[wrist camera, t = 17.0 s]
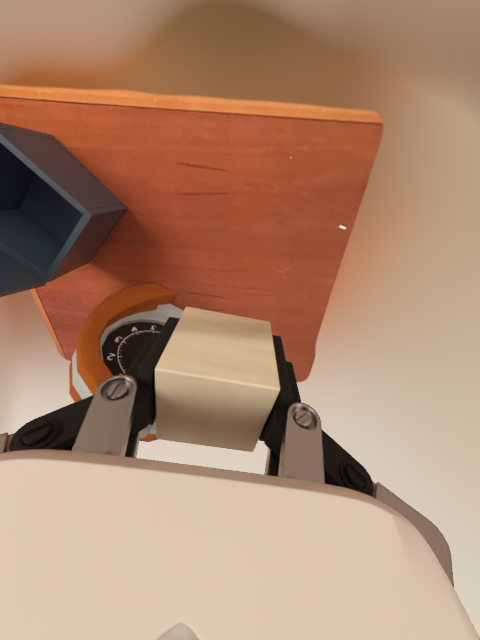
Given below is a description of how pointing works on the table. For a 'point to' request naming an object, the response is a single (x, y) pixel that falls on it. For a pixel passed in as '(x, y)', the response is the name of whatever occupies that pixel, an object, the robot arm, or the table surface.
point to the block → (216, 380)
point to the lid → (16, 276)
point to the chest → (50, 204)
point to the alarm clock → (119, 338)
